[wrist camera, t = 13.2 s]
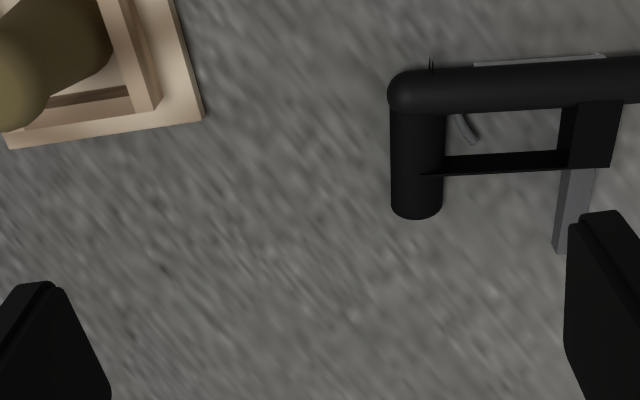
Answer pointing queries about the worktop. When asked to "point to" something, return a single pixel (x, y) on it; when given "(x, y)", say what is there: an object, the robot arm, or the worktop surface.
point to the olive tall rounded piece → (47, 54)
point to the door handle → (508, 95)
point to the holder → (123, 80)
